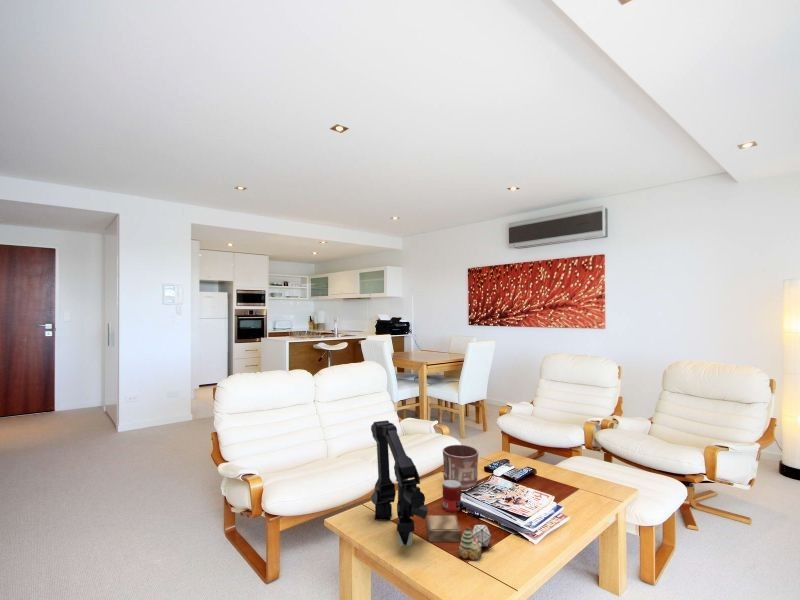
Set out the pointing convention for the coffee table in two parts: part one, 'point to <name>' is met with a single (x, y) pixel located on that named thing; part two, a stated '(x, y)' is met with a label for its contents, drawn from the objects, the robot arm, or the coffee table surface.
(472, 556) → the ornament
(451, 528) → the pedestal
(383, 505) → the robot arm
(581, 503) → the coffee table surface
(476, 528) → the game die
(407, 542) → the sage block
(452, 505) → the canned food
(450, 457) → the pottery
